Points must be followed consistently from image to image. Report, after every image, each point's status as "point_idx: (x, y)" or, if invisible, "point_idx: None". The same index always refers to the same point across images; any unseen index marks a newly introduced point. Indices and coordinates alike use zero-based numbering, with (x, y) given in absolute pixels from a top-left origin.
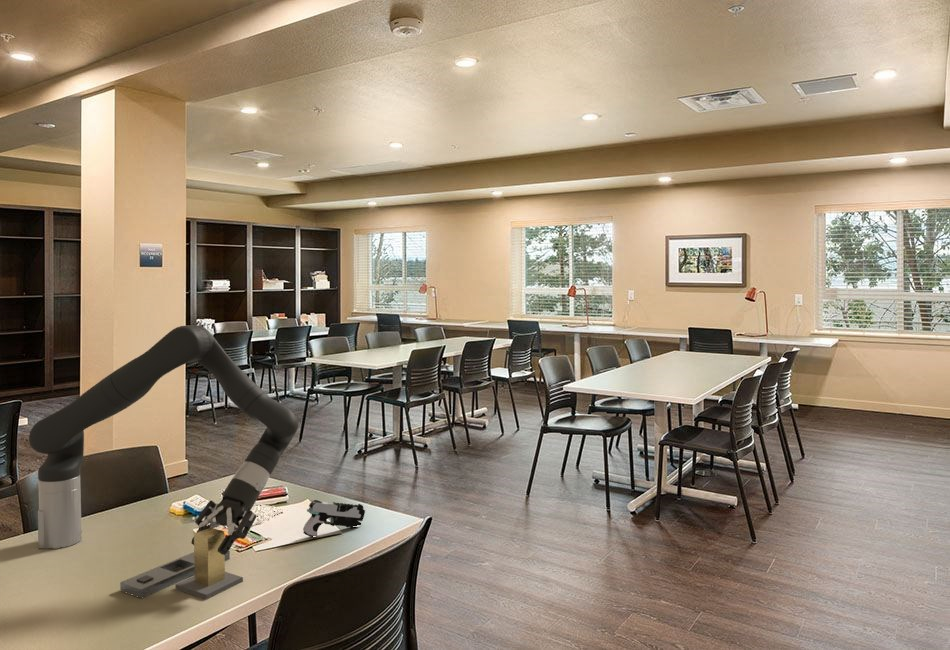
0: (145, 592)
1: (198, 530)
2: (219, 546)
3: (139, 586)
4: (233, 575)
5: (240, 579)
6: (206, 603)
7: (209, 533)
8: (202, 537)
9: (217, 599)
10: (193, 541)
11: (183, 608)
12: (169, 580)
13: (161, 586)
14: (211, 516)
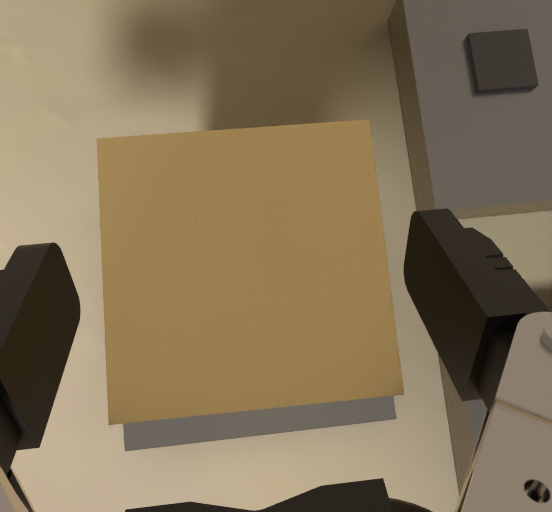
0: (398, 30)
1: (508, 288)
2: (40, 261)
3: (442, 4)
4: (194, 431)
5: (126, 430)
6: (80, 165)
7: (214, 245)
8: (203, 136)
9: (69, 223)
10: (424, 212)
11: (131, 74)
12: (420, 162)
13: (408, 118)
14: (512, 476)
